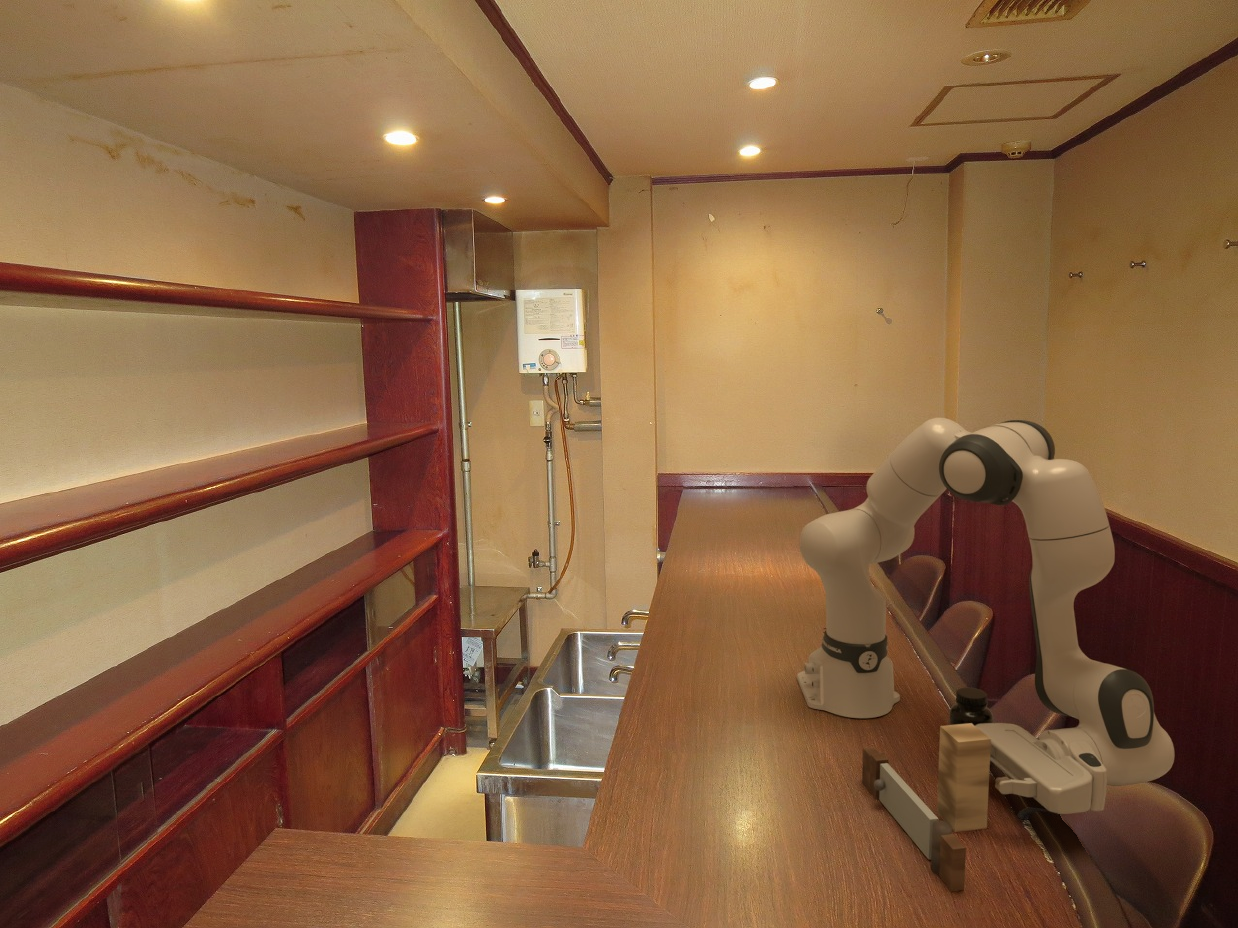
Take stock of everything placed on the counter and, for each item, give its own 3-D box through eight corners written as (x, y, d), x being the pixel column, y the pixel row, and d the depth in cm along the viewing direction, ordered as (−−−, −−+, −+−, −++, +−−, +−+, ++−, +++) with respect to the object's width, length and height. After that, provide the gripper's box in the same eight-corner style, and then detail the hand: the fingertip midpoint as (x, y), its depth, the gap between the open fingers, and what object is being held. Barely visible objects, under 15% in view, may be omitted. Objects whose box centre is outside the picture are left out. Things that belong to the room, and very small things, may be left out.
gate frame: (860, 782, 133) (861, 745, 132) (874, 780, 133) (875, 743, 132) (949, 891, 106) (950, 845, 105) (966, 889, 107) (968, 843, 106)
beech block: (936, 812, 124) (940, 725, 122) (967, 809, 124) (971, 722, 122) (954, 831, 119) (958, 742, 117) (986, 828, 120) (990, 738, 117)
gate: (936, 858, 113) (938, 818, 112) (917, 860, 112) (919, 820, 111) (886, 798, 127) (887, 762, 126) (869, 800, 127) (870, 764, 126)
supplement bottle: (980, 748, 142) (983, 683, 140) (999, 768, 136) (1002, 700, 134) (941, 750, 142) (943, 684, 140) (958, 770, 135) (961, 702, 134)
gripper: (1022, 709, 133) (942, 716, 131) (1115, 775, 113) (1022, 785, 111) (1019, 745, 134) (940, 753, 132) (1111, 817, 114) (1020, 828, 112)
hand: (979, 768), depth 121 cm, fingers open, 8 cm apart
